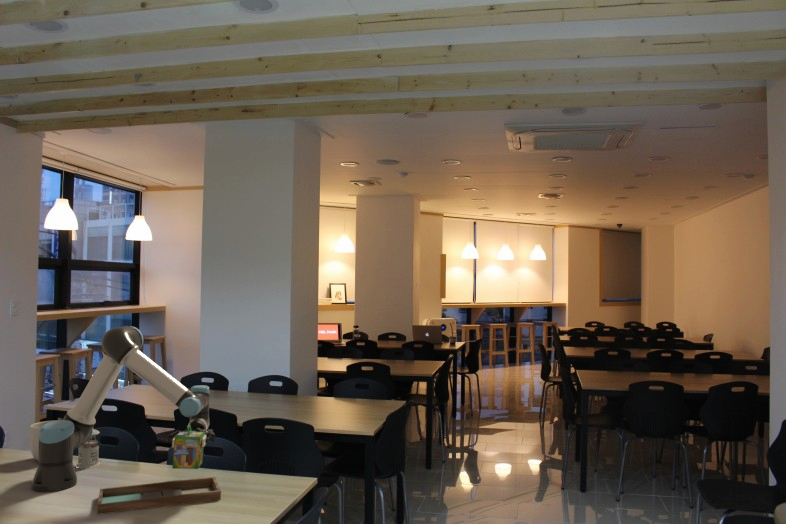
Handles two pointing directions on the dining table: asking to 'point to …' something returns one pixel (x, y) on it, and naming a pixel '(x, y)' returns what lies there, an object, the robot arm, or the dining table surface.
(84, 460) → the french press
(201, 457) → the chalk box
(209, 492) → the brown wooden tray
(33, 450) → the planter
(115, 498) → the mat
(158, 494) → the mats
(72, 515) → the dining table surface
